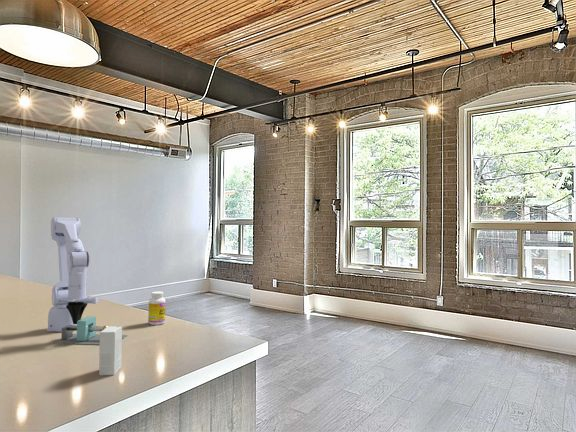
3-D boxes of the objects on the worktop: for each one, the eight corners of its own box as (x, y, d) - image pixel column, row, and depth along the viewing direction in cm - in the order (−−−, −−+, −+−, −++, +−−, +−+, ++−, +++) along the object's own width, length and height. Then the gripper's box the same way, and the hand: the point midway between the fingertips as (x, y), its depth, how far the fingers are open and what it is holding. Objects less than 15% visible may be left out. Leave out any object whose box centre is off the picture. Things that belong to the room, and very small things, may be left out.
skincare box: (106, 367, 113) (107, 326, 113) (121, 367, 114) (122, 326, 114) (98, 375, 107) (99, 332, 107) (114, 375, 108) (115, 331, 108)
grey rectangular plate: (53, 343, 134) (53, 342, 134) (72, 334, 145) (72, 333, 145) (112, 345, 133) (112, 344, 133) (127, 335, 144) (127, 335, 144)
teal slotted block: (76, 340, 136) (77, 321, 136) (87, 335, 142) (87, 316, 143) (85, 340, 136) (85, 321, 136) (95, 335, 142) (95, 316, 143)
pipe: (61, 340, 137) (61, 326, 137) (68, 337, 141) (68, 323, 141) (116, 342, 137) (116, 327, 137) (121, 338, 141) (121, 324, 141)
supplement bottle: (159, 325, 159) (160, 294, 159) (145, 324, 160) (145, 293, 160) (168, 321, 165) (168, 291, 165) (153, 320, 166) (154, 290, 167)
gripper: (50, 286, 136) (49, 325, 135) (91, 287, 135) (90, 326, 135) (62, 283, 143) (61, 320, 143) (101, 284, 142) (100, 321, 142)
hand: (76, 323), depth 139 cm, fingers closed
